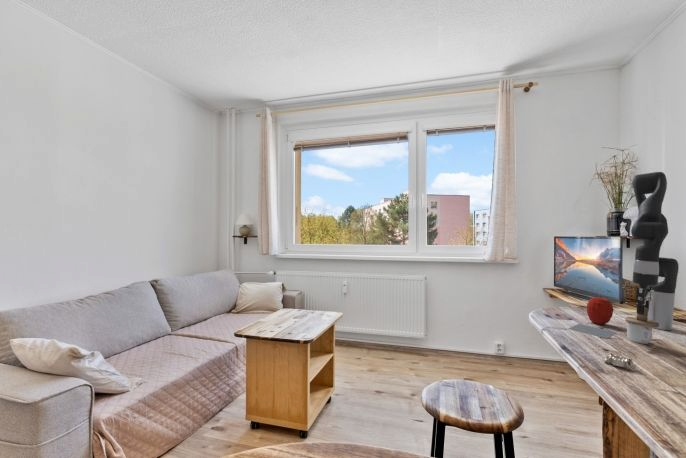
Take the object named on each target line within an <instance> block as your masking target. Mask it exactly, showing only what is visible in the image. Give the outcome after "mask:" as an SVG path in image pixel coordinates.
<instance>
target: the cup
mask: <svg viewBox="0 0 686 458" xmlns="http://www.w3.org/2000/svg"><path fill="white" fill-rule="evenodd" d="M653 329H654V328H653V327H646V326H640V325H636V324H632V323H629V322H626V334H627V335H626V336H627V339H628V340H629V341H631V342H632V343H637V344H643V345H644V344H645V345H648V344H650V341H652V339H653Z"/></svg>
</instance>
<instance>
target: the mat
mask: <svg viewBox="0 0 686 458" xmlns="http://www.w3.org/2000/svg"><path fill="white" fill-rule="evenodd" d="M567 330H571V331H575V332H579V333H583V334H586V335H587V334H588V335H592V336H594V337H598V338H599V337H600V338H602V339H606V340H607V339H609V338H611V337H612V336H614V335H615V334H618V333H617V331H613V330H608V329H604V328H599V327H595V326H590V325H587V324H586V325H585V324H582V323H577V324H575V325H573V326H570V327H569V328H567Z"/></svg>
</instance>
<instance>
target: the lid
mask: <svg viewBox="0 0 686 458" xmlns="http://www.w3.org/2000/svg"><path fill="white" fill-rule="evenodd" d="M625 322H626V323H627V322H629V323H632V324H636V325H640V326H646V327H659V323H658V322H656V321H652V320H649V319H648V308H645V311H644V314H643V315H642V314H637V313H636V317H635V316H625Z"/></svg>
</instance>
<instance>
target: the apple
mask: <svg viewBox="0 0 686 458" xmlns="http://www.w3.org/2000/svg"><path fill="white" fill-rule="evenodd" d="M614 310H615V309H614V307H613V304H612V303H611V302H610V300H608V299H607V298H604V297H602V295H601V294H600V296H599V297H598V296H597V297H596V296H595V297H592V298H590V299H589V300H588V301H587V303H586V313H587V316H588V318H589V321H591V322H592V323H593V324H595V325H599V326H600V325H601V326H602V325H603V326H604V325H606V324H608V323H609V322H610V321H611V319H612V317H613V315H614Z"/></svg>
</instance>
